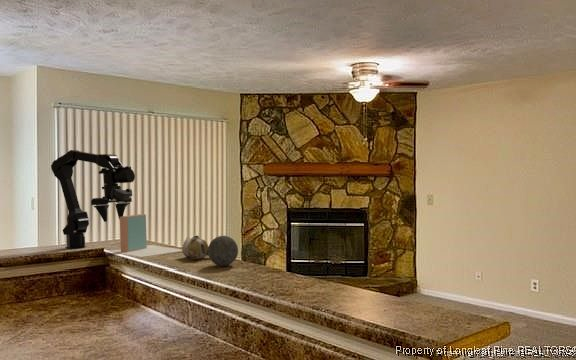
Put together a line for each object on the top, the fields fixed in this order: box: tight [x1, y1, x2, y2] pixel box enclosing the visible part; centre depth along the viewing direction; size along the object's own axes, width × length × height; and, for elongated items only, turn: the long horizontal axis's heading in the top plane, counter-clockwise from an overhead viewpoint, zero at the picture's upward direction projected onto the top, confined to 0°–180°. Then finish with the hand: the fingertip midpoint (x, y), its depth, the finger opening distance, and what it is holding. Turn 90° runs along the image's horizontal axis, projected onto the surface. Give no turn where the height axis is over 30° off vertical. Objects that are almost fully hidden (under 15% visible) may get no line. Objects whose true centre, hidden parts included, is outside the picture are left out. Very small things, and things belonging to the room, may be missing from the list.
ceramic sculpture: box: [181, 235, 209, 260], centre depth 189 cm, size 11×9×15 cm
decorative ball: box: [208, 235, 239, 267], centre depth 172 cm, size 10×10×10 cm
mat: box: [109, 244, 183, 258], centre depth 208 cm, size 20×26×1 cm
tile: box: [119, 213, 148, 252], centre depth 210 cm, size 4×11×14 cm, turn 154°
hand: (113, 220), depth 219 cm, fingers open, 9 cm apart
